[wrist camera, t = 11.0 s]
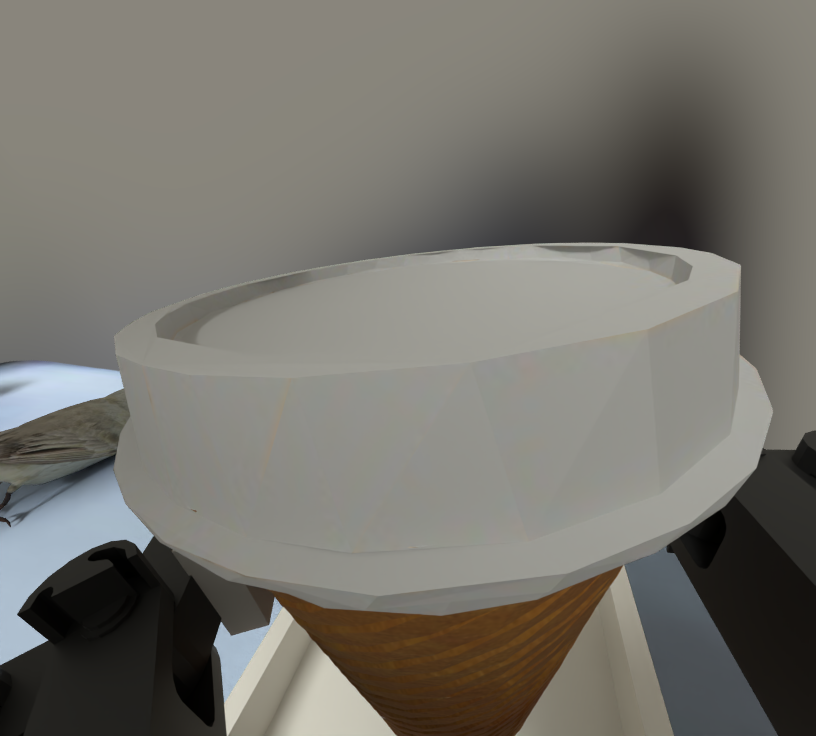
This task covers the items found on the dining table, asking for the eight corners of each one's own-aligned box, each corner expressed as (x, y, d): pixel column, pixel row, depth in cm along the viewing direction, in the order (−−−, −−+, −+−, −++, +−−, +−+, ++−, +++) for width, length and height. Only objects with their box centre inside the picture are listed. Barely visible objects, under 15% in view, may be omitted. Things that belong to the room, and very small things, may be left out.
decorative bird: (192, 421, 36) (164, 366, 33) (-4, 543, 23) (-83, 471, 20) (164, 416, 38) (135, 364, 35) (-32, 525, 25) (-108, 458, 22)
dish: (814, 1497, 5) (960, 1718, 3) (174, 891, 9) (120, 874, 8) (601, 562, 17) (612, 523, 15) (370, 509, 22) (362, 475, 20)
